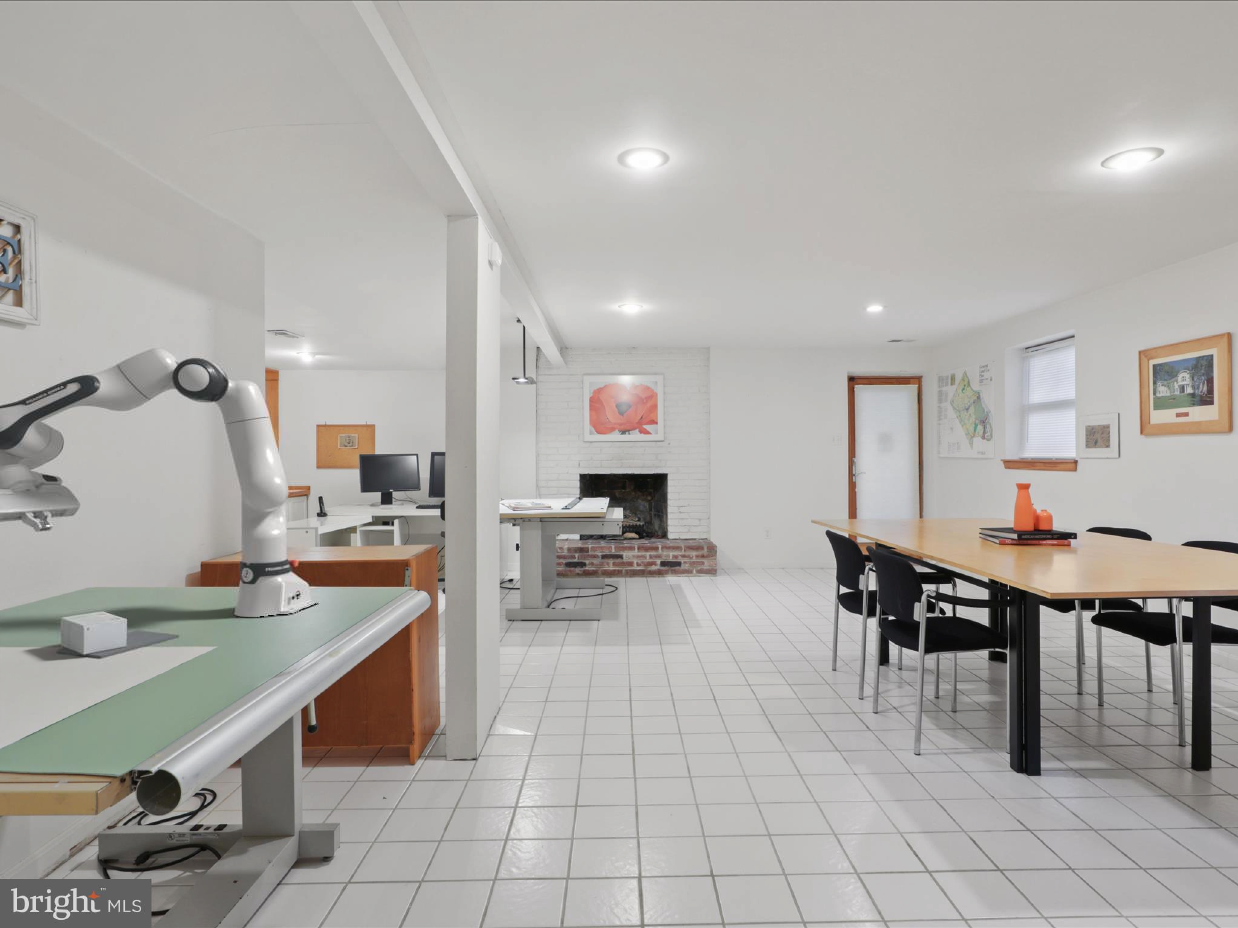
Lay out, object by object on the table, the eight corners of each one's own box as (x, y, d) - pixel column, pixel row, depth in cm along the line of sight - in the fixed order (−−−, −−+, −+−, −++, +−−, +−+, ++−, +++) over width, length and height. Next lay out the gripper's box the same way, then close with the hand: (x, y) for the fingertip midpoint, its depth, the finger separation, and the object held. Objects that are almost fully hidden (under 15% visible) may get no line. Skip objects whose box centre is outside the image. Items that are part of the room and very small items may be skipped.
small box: (60, 645, 150) (82, 655, 142) (60, 617, 150) (82, 625, 142) (103, 638, 156) (127, 646, 149) (103, 610, 156) (127, 618, 149)
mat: (137, 632, 163) (137, 630, 163) (178, 636, 159) (178, 634, 159) (56, 652, 146) (56, 650, 146) (100, 658, 142) (101, 655, 142)
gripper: (-31, 479, 151) (0, 524, 149) (67, 476, 171) (95, 516, 168) (-44, 499, 153) (-14, 543, 150) (54, 494, 172) (82, 533, 170)
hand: (45, 529), depth 159 cm, fingers closed
